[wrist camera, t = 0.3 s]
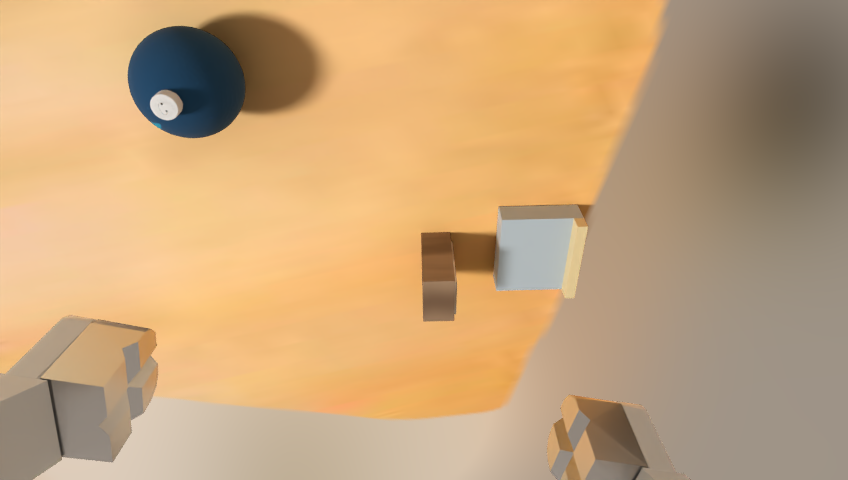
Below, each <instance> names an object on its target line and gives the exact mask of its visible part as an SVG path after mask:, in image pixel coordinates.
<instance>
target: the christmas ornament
mask: <svg viewBox="0 0 848 480" xmlns="http://www.w3.org/2000/svg"><path fill="white" fill-rule="evenodd" d="M128 83H129V88H130V92H131V95H132V98H133V100H134V102H135V104H136V105H137V107H138V109H139V110H140V111H141V113H142V114H143V115H144V116H145V117H146V118H147V119H148V120H149V121H150V122H151V123H153V124H154V125H155V126H157V127H158V128H160V129H161V130H164V131H166V132H168V133H170V134H173V135H176V136H180V137H186V138H201V137H206V136H210V135H213V134H216V133H218V132H220V131H222V130H223V129H225V128H226V127H227V126H229V125H230V124H231V123H232V122H233V121H234V119H235V118H236V117H237V115H238V114H239V112H240V110H241V108H242V105H243V102H244V97H245V79H244V75H243V71H242V69H241V66H240V64H239V62H238V60H237V58H236V57H235V55H234V54H233V52H232V51H231V50H230V49H229V48H228V47H227V46H226V45H225V44H224V43H223V42H222V41H221V40H219V39H218V38H216V37H215V36H213V35H211V34H210V33H208V32H205V31H203V30H200V29H197V28H193V27H187V26H173V27H167V28H163V29H160V30H158V31H156V32H153V33H152V34H150V35H149V36H147V37H146V38H145V39H144V40H143V41H142V42H141V43H140V44H139V45H138V46H137V48H136V49H135V51H134V52H133V55H132V57H131V60H130V63H129V67H128Z"/></svg>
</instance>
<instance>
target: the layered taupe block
mask: <svg viewBox="0 0 848 480" xmlns="http://www.w3.org/2000/svg"><path fill="white" fill-rule="evenodd" d="M421 244H422V286H423V321H454V314H456V296H457V279H456V270H455V261H454V252H453V243H452V242H451V237H450V232H441V233H421Z"/></svg>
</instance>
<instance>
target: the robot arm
mask: <svg viewBox="0 0 848 480" xmlns="http://www.w3.org/2000/svg"><path fill="white" fill-rule="evenodd" d="M156 346H157V344H156V334H155V332H154V331H153V330H152V329H148V328H143V327H137V326H132V325H126V324H121V323H115V322H109V321H104V320H95V319H89V318H84V317H79V316H73V315H69V316H67V317H64V318H62V319H61V320H60V321H59V322H58V323H57V324H56V325H55V326H53V327H52V328H51V329H50V330H49V331H48V332H47V333H46V334H45V335H44V336H43V337H42V338H41V339H40V340H39V341H38V342H37V343H36V344H35V345H34V346H33V347H32V348H31V349H30V350H29V351H28V352H27V353H26V354H25V355H24V356H23V357H22V358H21V359H20V360H19V361H18V362H17V363H16V364H15V365H14V366H13V367H12V368H11V369H10V370H9V371H8V372H7V373H6V374H1V373H0V480H33V479H34V478H35V477H37V476H39V475H40V474H41V473H43V472H44V471H46V470H47V469H49V468H50V467H52V466H53V465H55V464H56V463H58V462H59V461H61V460H62V457H67V458H77V459H86V460H96V461H105V462H113V461H114V460H115V458H116V456H117V455H118V453H119V452H120V450H121V448H122V447H123V445H124V443H125V442H126V440H127V439H128V437H129V436H130V434H131V433H132V432H131V431H132V430H131V420H132V419H134V418H135V417H137V416H139V415H141V414H143V413H144V412H145V410H146V408H147V406H148V405H149V403H150V401H151V399H152V396H153V393H154V391H155V388H156V384H157V377H158V364H157V363H156V361H155V360H154V359H153V358H152V357H151V354H152V352H153V351H154V349H155V348H156ZM561 412H562V416H563V418H562V419H561V420H559V421H557V422H556V423H554V424H553V426H552V429H551V431H550V434H549V438H548V446H547V457H548V464H549V469H550V472H551V473H552V474H553V475H554V476H555V477H556V479H557V480H691V479H690V478H688V477H687V476H686V475H685V474H682V473H677V472H676V470H675V468H674V466H673V464H672V462H671V460H670V458H669V456H668V454H667V452H666V450H665V447H664V445H663V443H662V441H661V439H660V437H659V435H658V433H657V431H656V429H655V427H654V425H653V423H652V421H651V419H650V417H649V414H648V412H647V410H646V409H645V408H644V407H643V406H642V405H640V404H632V403H625V402H618V401H617V402H614V401H609V400H602V399H595V398H588V397H581V396H575V395H568V396H567V397H566V398H565V400H564V402H563V404H562V406H561Z"/></svg>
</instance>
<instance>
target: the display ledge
mask: <svg viewBox="0 0 848 480" xmlns="http://www.w3.org/2000/svg"><path fill="white" fill-rule="evenodd" d="M587 231H588V225H587V223H586V221H585V219H584V217H583V215H582V213H581V211H580V209H579V207H578V205H546V206H503V207H499V208H498V221H497V234H496V247H495V260H494V273H493V277H494V282H495V287H496V291H501V290H541V289H562V292H563V295H564V298H574V297H575V292H576V287H577V282H578V277H579V271H580V266H581V261H582V256H583V251H584V246H585V241H586V236H587Z"/></svg>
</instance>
